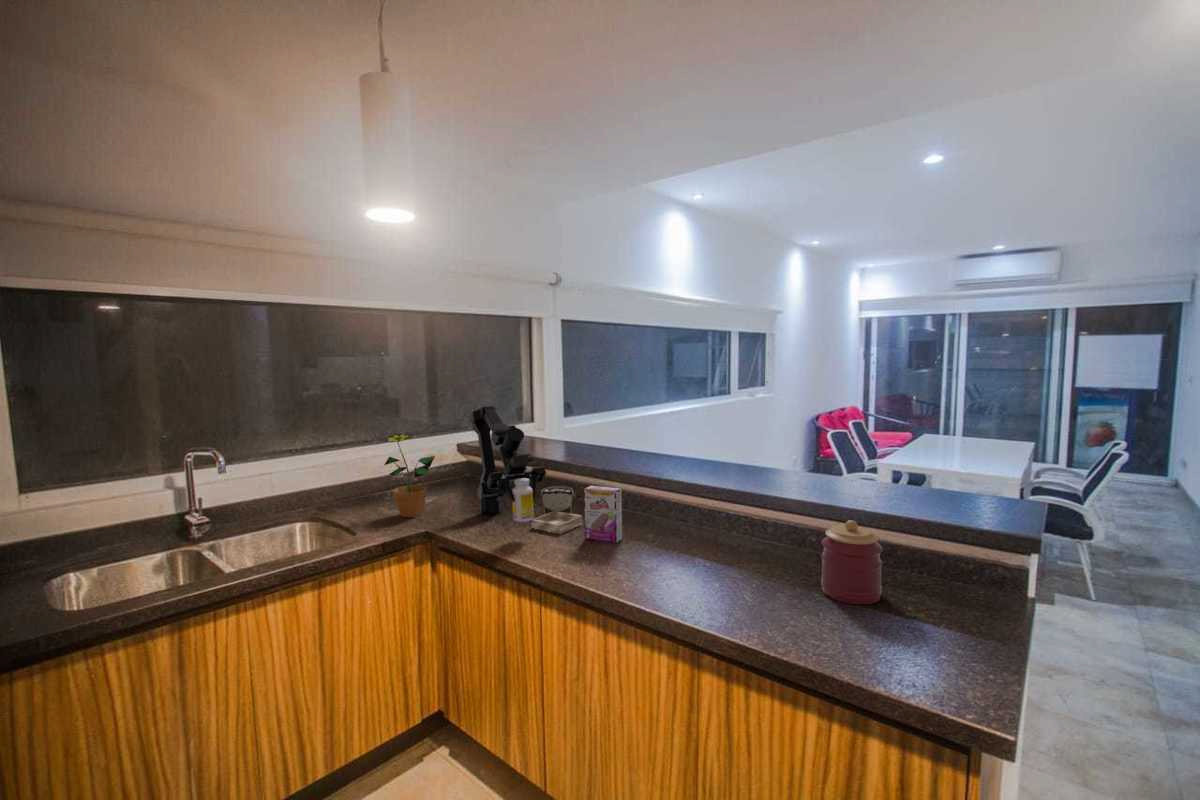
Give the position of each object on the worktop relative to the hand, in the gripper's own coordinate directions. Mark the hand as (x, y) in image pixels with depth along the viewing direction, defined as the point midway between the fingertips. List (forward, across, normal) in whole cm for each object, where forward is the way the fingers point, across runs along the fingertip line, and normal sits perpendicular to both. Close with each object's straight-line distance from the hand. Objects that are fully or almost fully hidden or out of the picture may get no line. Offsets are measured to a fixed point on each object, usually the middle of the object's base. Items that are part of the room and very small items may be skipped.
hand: (524, 499), depth 169 cm
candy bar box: (+19, +21, 0) cm, 28 cm away
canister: (+64, +51, -47) cm, 95 cm away
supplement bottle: (+4, 0, +6) cm, 7 cm away
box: (+4, +14, +14) cm, 20 cm away
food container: (-4, +21, +23) cm, 31 cm away
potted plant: (-25, -26, +44) cm, 57 cm away
